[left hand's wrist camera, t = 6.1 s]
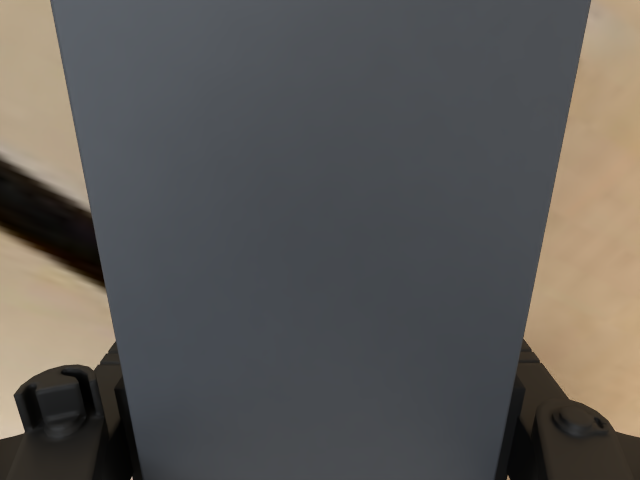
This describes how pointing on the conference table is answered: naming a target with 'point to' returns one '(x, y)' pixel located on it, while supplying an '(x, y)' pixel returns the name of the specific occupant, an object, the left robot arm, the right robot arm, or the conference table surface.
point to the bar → (319, 223)
